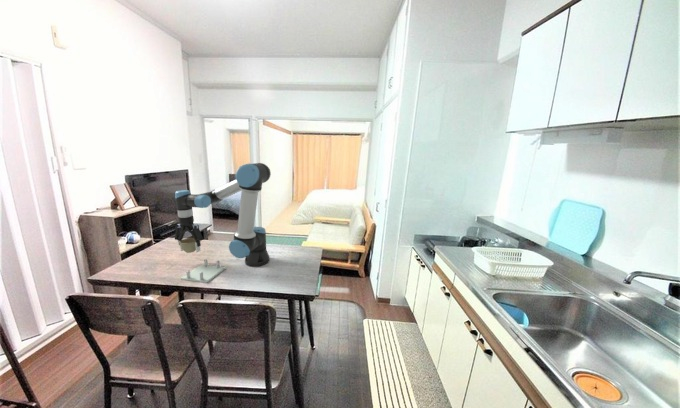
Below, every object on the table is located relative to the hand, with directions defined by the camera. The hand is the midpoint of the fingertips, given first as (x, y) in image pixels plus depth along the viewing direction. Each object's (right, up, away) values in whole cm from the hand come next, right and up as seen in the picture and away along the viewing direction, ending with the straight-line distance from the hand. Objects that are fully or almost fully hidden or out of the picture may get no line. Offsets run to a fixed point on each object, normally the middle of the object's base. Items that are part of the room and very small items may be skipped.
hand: (190, 250), depth 146 cm
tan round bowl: (0, -1, 0) cm, 1 cm away
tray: (+14, -12, -9) cm, 20 cm away
